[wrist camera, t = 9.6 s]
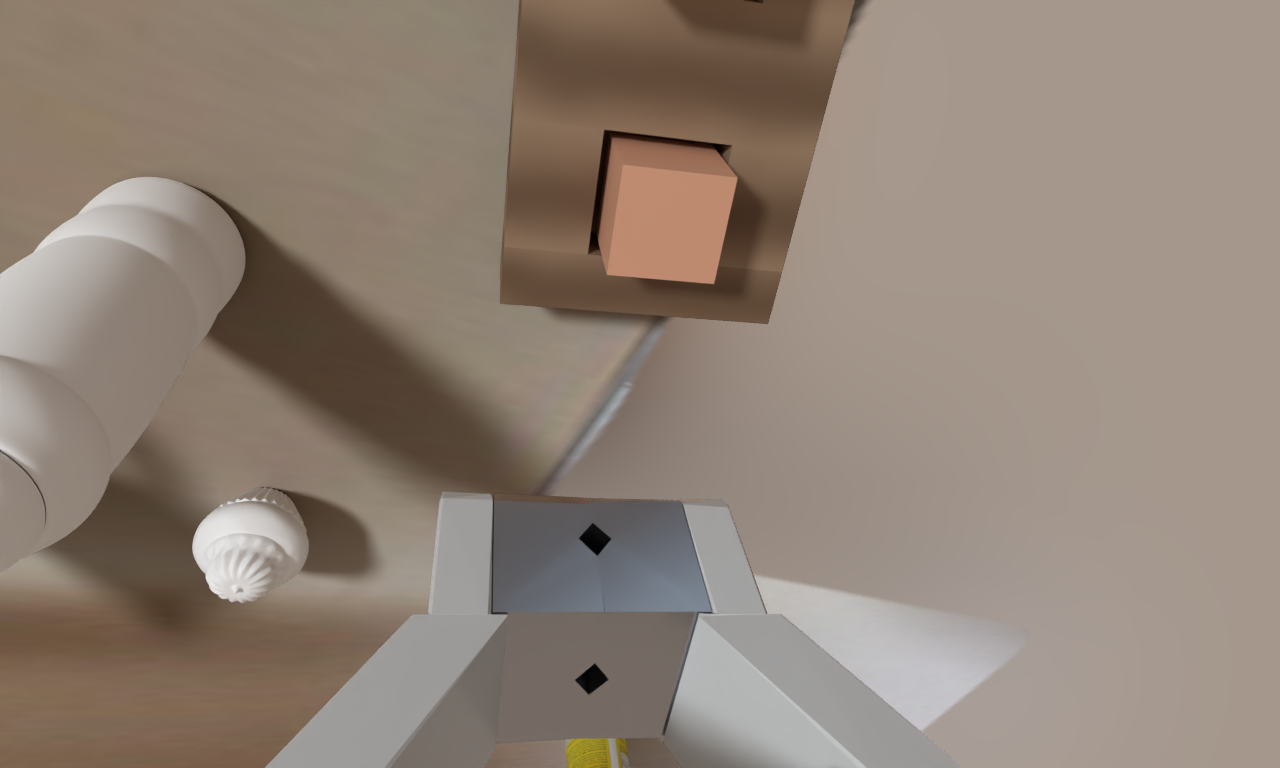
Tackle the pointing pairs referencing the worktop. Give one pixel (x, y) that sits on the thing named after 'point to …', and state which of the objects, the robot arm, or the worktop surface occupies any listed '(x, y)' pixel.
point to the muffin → (251, 544)
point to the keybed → (666, 109)
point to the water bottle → (101, 345)
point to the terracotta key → (663, 209)
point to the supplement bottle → (597, 753)
